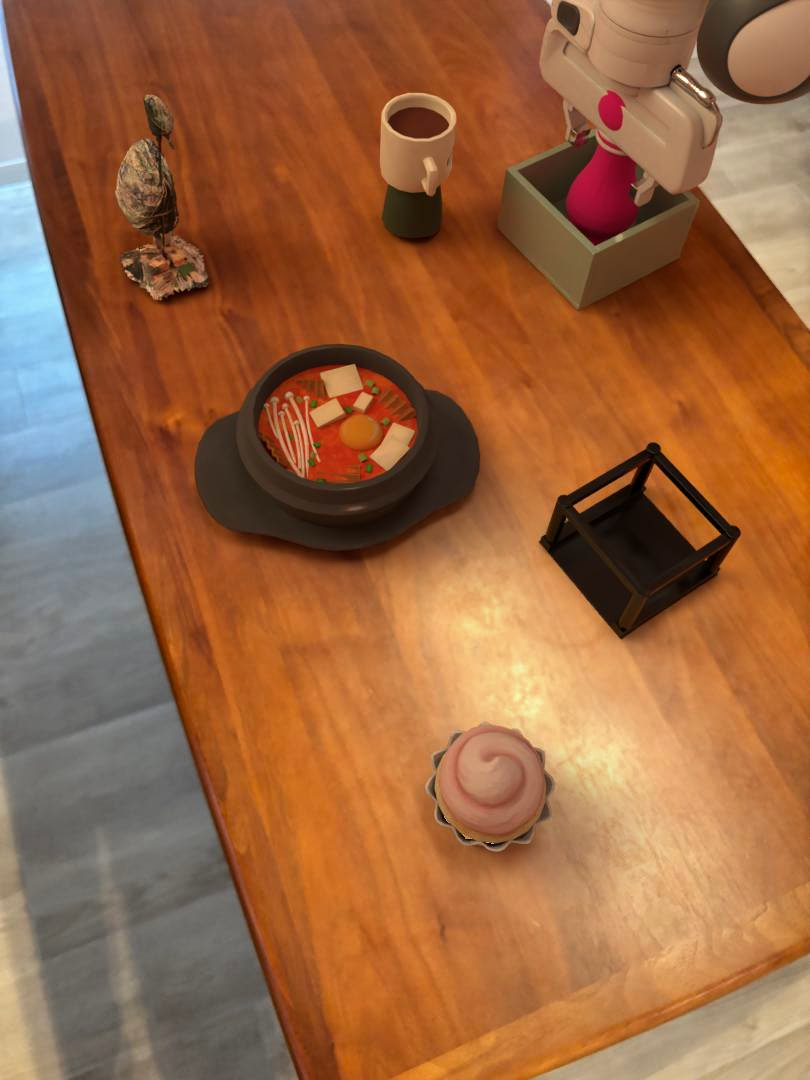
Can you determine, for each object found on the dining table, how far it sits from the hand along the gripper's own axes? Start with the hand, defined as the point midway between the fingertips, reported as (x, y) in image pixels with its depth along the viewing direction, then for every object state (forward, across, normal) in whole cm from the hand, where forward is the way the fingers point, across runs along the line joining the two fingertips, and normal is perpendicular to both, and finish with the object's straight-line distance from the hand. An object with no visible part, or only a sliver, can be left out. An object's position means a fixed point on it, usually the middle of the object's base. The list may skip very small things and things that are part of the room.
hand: (606, 170), depth 97 cm
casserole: (+10, -10, +37) cm, 39 cm away
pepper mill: (+9, 0, 0) cm, 9 cm away
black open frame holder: (+9, -31, +21) cm, 39 cm away
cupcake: (+10, -41, +44) cm, 61 cm away
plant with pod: (+10, +20, +38) cm, 45 cm away
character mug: (+10, +12, +14) cm, 21 cm away
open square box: (+9, 0, 0) cm, 9 cm away
